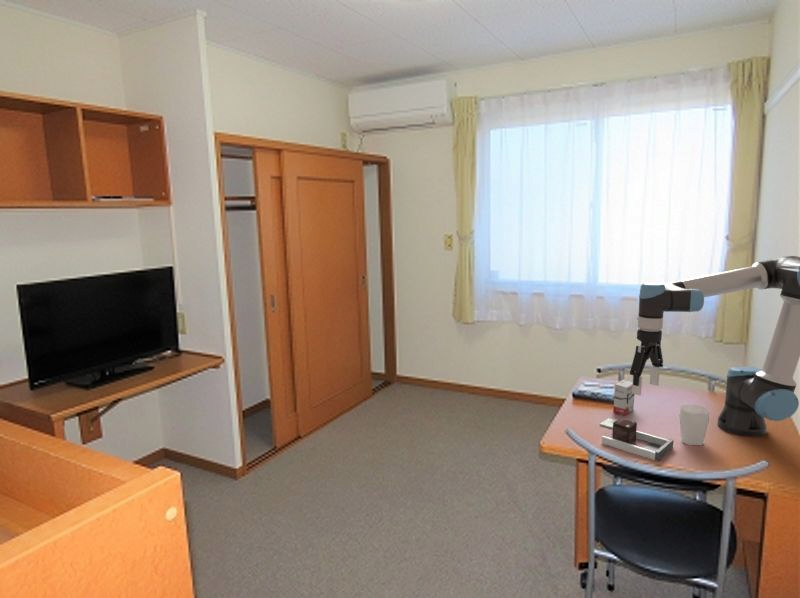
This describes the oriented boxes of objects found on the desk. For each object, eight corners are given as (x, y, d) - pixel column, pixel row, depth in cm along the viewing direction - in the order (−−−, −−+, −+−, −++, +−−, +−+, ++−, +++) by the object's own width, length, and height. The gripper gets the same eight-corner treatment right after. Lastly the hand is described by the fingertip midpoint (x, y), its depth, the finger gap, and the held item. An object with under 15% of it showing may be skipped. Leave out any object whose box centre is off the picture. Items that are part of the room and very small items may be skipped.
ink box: (625, 415, 209) (626, 387, 207) (612, 412, 213) (614, 384, 210) (634, 409, 215) (635, 381, 213) (622, 406, 218) (623, 379, 216)
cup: (706, 449, 179) (709, 416, 177) (676, 444, 184) (678, 411, 182) (707, 439, 187) (710, 407, 185) (678, 434, 192) (681, 402, 190)
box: (619, 436, 191) (620, 417, 190) (636, 441, 187) (637, 422, 185) (611, 441, 187) (612, 422, 186) (628, 447, 183) (629, 427, 181)
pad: (626, 424, 201) (626, 423, 200) (617, 430, 196) (618, 429, 196) (608, 419, 206) (608, 418, 205) (599, 425, 201) (599, 423, 201)
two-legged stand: (672, 448, 181) (673, 439, 181) (657, 461, 172) (658, 452, 172) (618, 431, 195) (618, 424, 194) (601, 443, 186) (602, 435, 185)
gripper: (654, 321, 189) (650, 378, 193) (621, 333, 172) (617, 395, 176) (676, 324, 183) (671, 383, 187) (644, 337, 167) (640, 401, 171)
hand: (645, 389), depth 182 cm, fingers open, 13 cm apart
